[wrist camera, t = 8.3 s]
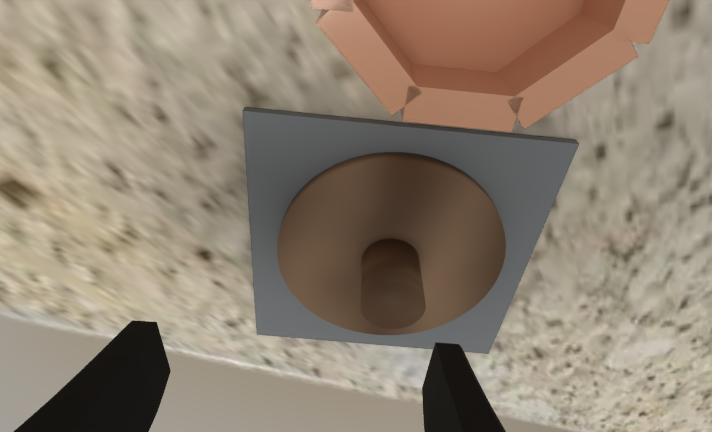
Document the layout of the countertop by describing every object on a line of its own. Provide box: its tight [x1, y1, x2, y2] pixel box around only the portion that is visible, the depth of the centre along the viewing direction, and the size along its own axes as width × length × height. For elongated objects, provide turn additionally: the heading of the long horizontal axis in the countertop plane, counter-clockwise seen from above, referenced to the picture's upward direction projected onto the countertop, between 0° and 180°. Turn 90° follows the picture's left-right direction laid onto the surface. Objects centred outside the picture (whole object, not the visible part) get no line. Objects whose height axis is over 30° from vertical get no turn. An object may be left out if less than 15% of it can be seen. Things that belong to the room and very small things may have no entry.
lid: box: [277, 152, 506, 335], centre depth 20 cm, size 11×11×4 cm
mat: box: [243, 107, 579, 354], centre depth 22 cm, size 14×14×1 cm
